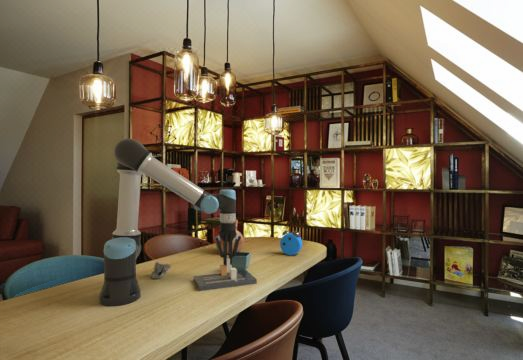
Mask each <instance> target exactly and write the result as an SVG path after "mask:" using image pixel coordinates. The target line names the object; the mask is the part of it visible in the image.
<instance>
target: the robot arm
mask: <svg viewBox="0 0 523 360" xmlns="http://www.w3.org/2000/svg"><path fill="white" fill-rule="evenodd" d="M113 155H114V158H115V160H116V171H117V172H118V174H119V187H118V200H117V201H118V203H117V215H116V217H117V218H116V228H115V230H113V232H112V234H111V235H112V236H111V239H109V240H107V241H106V242H105V243H104V245H103V270H104V272H103V274H104V275H103V278H104V279H103V284H102V287H101V291H99V292H100V293H99V297H98V301H99V304H100V305H102V306H103V305H104V306H109V307H110V306H113V307H114V306H122V305H128V304H131V303H134V302H136V301H137V300H139V299H140V298H141V296H142V294H141V293H142V292H141V287H140V284H139V282H138V279H137V258H138V257H139V256H140V253H141V252H142V243H141V239H142V238H141V235H142V234H141V233H142V232H141V231H140V230H139V227H138V225H139V211H140V210H139V209H140V196H141V183H142V182H141V178H142V175H143V174H144V175H145V176H147V177H149V178H151V179H152V180H154V181H155V182H157V183H158V184H160V185H161V186H164V187H165V188H167V189H169V190H170V191H171V192H173V193H175V194H176V195H177V196H179V197H180V198H182V199H184V200H186V201H187V202H188V203H191V204H192V205H193V207H194V208H193V209H194V210H195V211H202V212H203V213H205V214H207V215H208V214H209V215H210V214H214V213H216V212H217V211H219V222H220V223H219V232H218V234H217V236H214V237H213V240H215V241H214V242H215V244H216V243H217V246H216V248H217V247H218V248H217V250H218V255H219V257H220V258H223V263H222V265H226V266H227V272H230V270H229V268H231V266H232V265H231V264H232V258H233V257H234V256H236V252H237V248H238V244H239V241H240V239H241V236H239V235H237V233H236V223H235V221H236V220H237V217H236V212H237V211H236V210H237V208H236V205H237V204H236V203H237V202H236V200H237V197H236V195H237V194H236V190H234V189H220V190H219V193H209V192H207V191H206V190H204V189H203V188H201V187H200V186H198V185H197V184H195V183H193V182H192V181H191V180H189V179H187V178H186V177H185V176H183V175H182V174H179V173H178V171H176V170H173V169H172V168H171V167H170V166H167V165H166V164H165V163H163V162H162V161H160V160H158V159H157V158H155V157H154V156H153V154H152V152H151V151H149V150H147V149H146V147H145V146H144V145H143V144H142V143H140V142H139V140H136V139H134V138H123V139H121V140H119V141H118V142H117V143H116V144H115V146H114V149H113ZM235 236H236V237H235ZM220 238H221V239H222V240H223V253H222V249H221V244H220V241H219V240H220ZM234 238H235V239H236V240H235V243H234V248H233V252H232V243H233V239H234ZM227 242H228V255H227Z"/></svg>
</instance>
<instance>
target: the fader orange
mask: <svg viewBox="0 0 523 360" xmlns="http://www.w3.org/2000/svg"><path fill="white" fill-rule="evenodd" d="M219 267H220V268H219V269H220V270H219V271H220V272H219V273H220V274H221V276H223V275H227V266H226V265H224V264H219Z"/></svg>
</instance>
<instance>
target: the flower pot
mask: <svg viewBox="0 0 523 360" xmlns="http://www.w3.org/2000/svg"><path fill="white" fill-rule="evenodd" d="M251 254H252V253H251V252H249V251H248V252H246V251H240V252H236V256H234V257H233V258H232V264H231V265H230V266H231V268H236V269H237V271H244V270H247V271H248V268H249V265H250V261H251Z"/></svg>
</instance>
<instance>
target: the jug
mask: <svg viewBox="0 0 523 360" xmlns="http://www.w3.org/2000/svg"><path fill="white" fill-rule="evenodd" d="M235 223H236V233H237V235H239V236H241V239H240V241H239V244H238V248H237V252H241V250H242V249H243V246H244V243H245V239H244V238H245V237H244V236H243V234H242V233H241V232H240V231H239V230H238V223H239V221H238V220H237V219H236V221H235ZM235 237H236V236H235ZM235 240H236V239H235V238H234V239H233V243H232V252H233V248H234V243H235ZM219 241H220V244H221V249H222V253H223V240H222V239H221V238H220V240H219ZM215 247H216V248H217V249H218V247H217V243H216V242H215ZM227 256H228V242H227Z"/></svg>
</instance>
